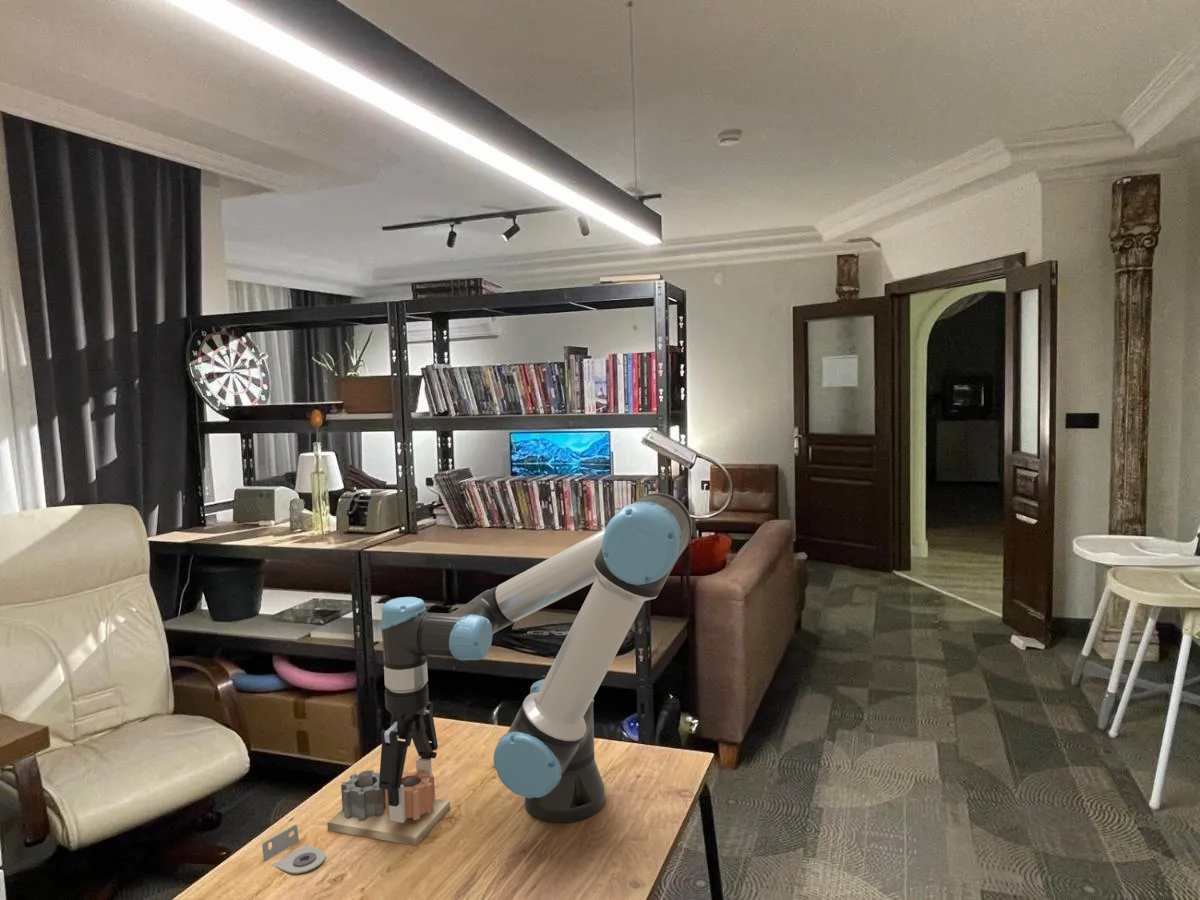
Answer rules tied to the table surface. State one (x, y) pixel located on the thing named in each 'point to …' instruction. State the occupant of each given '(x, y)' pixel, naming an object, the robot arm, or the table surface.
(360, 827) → the gear board
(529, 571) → the robot arm
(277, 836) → the bracket
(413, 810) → the gear
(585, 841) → the table surface
